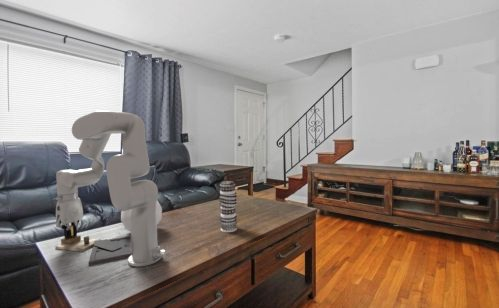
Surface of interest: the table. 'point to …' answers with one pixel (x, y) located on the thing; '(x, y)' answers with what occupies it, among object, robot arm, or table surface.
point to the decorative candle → (228, 206)
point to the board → (76, 243)
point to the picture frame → (110, 250)
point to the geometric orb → (126, 214)
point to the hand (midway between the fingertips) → (70, 236)
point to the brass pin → (71, 232)
